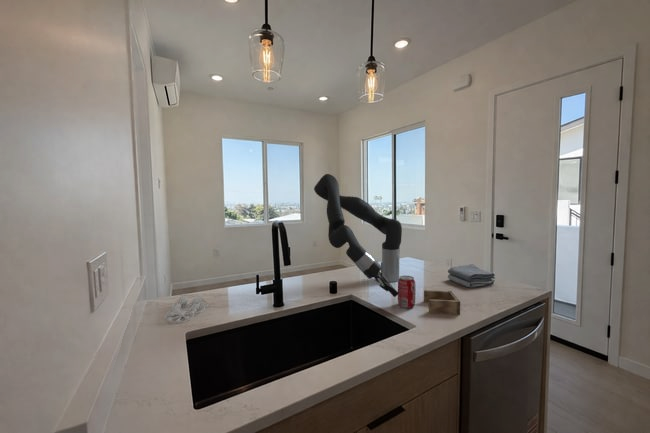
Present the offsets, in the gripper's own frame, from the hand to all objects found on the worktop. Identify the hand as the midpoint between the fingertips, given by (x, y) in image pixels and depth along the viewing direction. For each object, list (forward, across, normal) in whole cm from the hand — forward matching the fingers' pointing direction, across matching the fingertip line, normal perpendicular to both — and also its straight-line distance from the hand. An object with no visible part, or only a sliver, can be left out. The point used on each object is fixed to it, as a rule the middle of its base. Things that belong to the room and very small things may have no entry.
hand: (396, 295), depth 116 cm
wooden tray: (+15, 0, +10) cm, 18 cm away
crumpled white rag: (-54, +18, -64) cm, 85 cm away
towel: (+33, -36, +26) cm, 55 cm away
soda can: (+6, 0, 0) cm, 6 cm away
